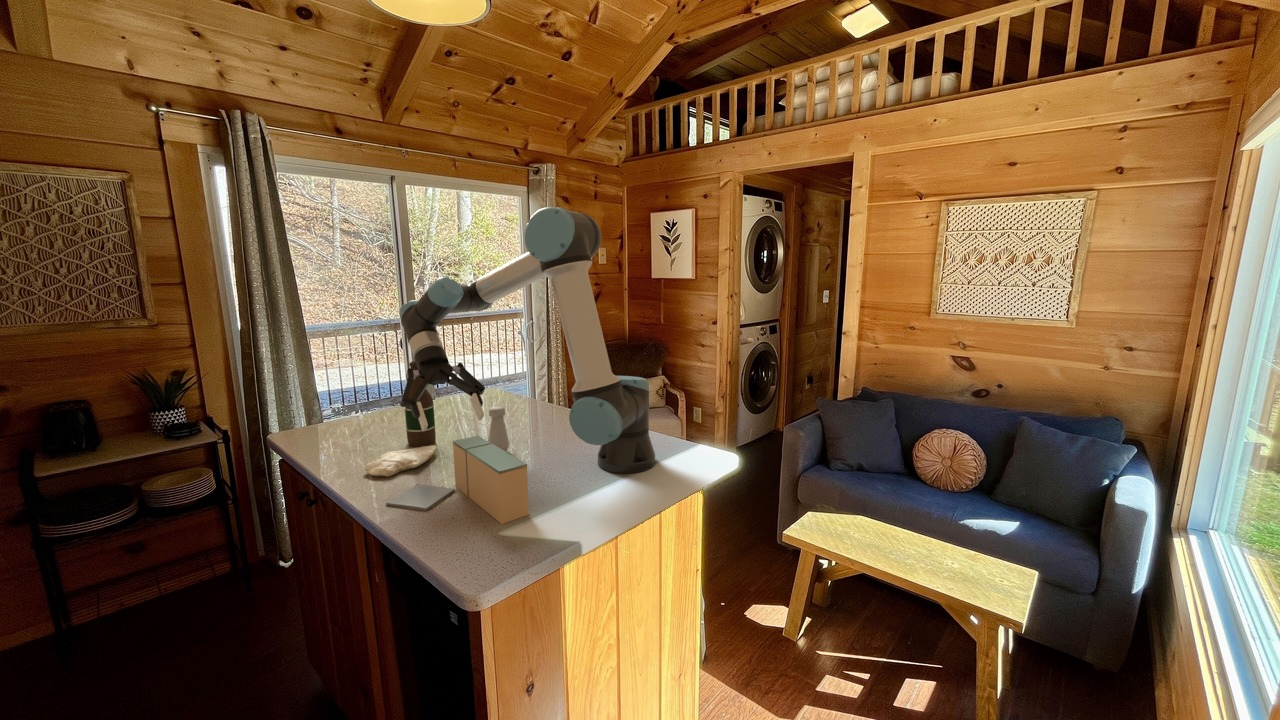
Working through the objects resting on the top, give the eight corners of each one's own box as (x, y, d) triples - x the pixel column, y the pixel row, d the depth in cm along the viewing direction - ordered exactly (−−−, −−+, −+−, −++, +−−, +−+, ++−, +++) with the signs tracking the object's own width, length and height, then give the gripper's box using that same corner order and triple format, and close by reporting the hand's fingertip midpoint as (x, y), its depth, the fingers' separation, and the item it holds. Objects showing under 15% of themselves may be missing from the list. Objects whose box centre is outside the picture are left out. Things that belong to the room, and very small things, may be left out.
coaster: (455, 491, 117) (454, 488, 116) (426, 510, 107) (426, 508, 107) (417, 486, 119) (416, 484, 119) (386, 505, 109) (385, 502, 109)
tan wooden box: (468, 496, 114) (465, 449, 112) (494, 489, 118) (491, 443, 116) (501, 524, 102) (499, 471, 100) (528, 514, 105) (527, 463, 104)
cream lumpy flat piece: (353, 474, 126) (419, 450, 144) (390, 484, 121) (454, 458, 138) (351, 460, 126) (418, 437, 144) (389, 469, 120) (454, 444, 138)
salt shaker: (503, 457, 138) (501, 410, 136) (484, 455, 139) (481, 409, 137) (513, 450, 143) (511, 405, 141) (494, 448, 145) (492, 404, 142)
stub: (455, 486, 119) (452, 440, 117) (480, 479, 123) (477, 435, 121) (467, 496, 114) (464, 448, 112) (492, 488, 118) (490, 443, 116)
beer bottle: (441, 441, 150) (436, 361, 146) (418, 448, 144) (411, 365, 140) (425, 436, 155) (419, 358, 150) (401, 443, 148) (395, 362, 144)
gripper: (472, 356, 142) (498, 421, 133) (374, 367, 126) (396, 441, 117) (479, 340, 137) (507, 405, 129) (378, 348, 121) (402, 424, 113)
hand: (454, 422), depth 123 cm, fingers open, 13 cm apart
